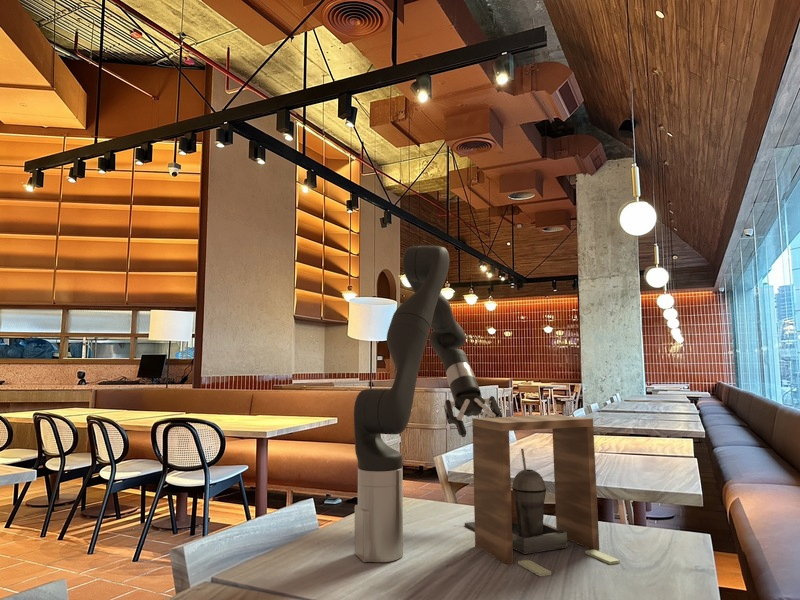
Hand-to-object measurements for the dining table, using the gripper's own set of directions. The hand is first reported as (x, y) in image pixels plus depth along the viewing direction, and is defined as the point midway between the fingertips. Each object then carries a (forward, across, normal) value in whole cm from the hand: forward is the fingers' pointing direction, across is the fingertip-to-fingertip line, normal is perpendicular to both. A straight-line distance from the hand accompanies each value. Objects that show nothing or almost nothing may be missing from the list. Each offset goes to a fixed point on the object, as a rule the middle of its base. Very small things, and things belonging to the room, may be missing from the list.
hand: (480, 434), depth 140 cm
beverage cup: (+30, +1, -3) cm, 30 cm away
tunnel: (+31, +2, -4) cm, 31 cm away
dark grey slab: (+21, 0, +7) cm, 22 cm away
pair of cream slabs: (+37, +3, -12) cm, 39 cm away
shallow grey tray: (+29, +1, -2) cm, 29 cm away
